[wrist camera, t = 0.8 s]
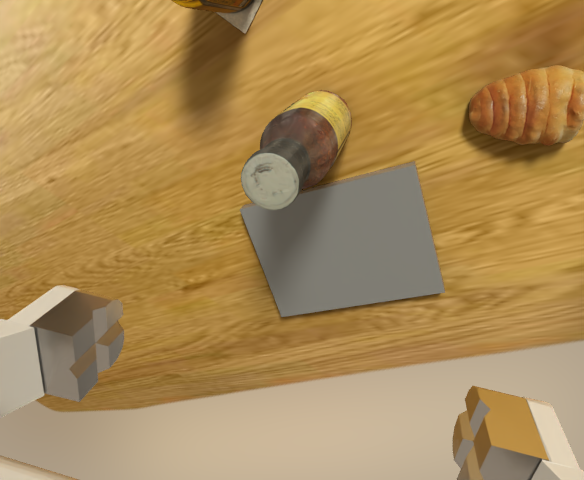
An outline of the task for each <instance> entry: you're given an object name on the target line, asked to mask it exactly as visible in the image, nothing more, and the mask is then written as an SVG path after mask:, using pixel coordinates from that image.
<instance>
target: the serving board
mask: <svg viewBox="0 0 584 480" xmlns="http://www.w3.org/2000/svg"><path fill="white" fill-rule="evenodd" d="M240 211H241V214H242V217H243V219H244V222H245V224H246V227H247V229H248V232H249V235H250V237H251V240H252V242H253V245H254V247H255V250H256V252H257V255H258V258H259V260H260V263H261V265H262V268H263V270H264V273H265V276H266V278H267V281H268V283H269V286H270V288H271V291H272V294H273V296H274V299H275V301H276V304H277V306H278V309H279V312H280V314H281V317H286V316H292V315H299V314H306V313H312V312H319V311H325V310H332V309H339V308H345V307H352V306H358V305H365V304H372V303H378V302H385V301H391V300H398V299H405V298H411V297H418V296H424V295H431V294H438V293H444V292H445V288H444V283H443V279H442V274H441V270H440V266H439V261H438V257H437V253H436V249H435V244H434V240H433V236H432V232H431V227H430V223H429V219H428V214H427V210H426V206H425V202H424V197H423V193H422V189H421V185H420V180H419V176H418V172H417V167H416V163H415V161H414V162H410V163H406V164H402V165H398V166H394V167H390V168H386V169H383V170H379V171H375V172H371V173H367V174H363V175H359V176H355V177H351V178H347V179H344V180H340V181H336V182H332V183H328V184H324V185H320V186H316V187H312V188H309V189H305V190H301V192H300V194H299V195H298V196H297V198H296V199H295V200H294V202H293V203H291V204H290V205H289V206H288V207H285V208H283V209H280V210H267V209H263V208H261V207H259V206H257V205H256V204H254V203H250V204H246V205H244V206H243V207H242V208H241V209H240Z"/></svg>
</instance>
